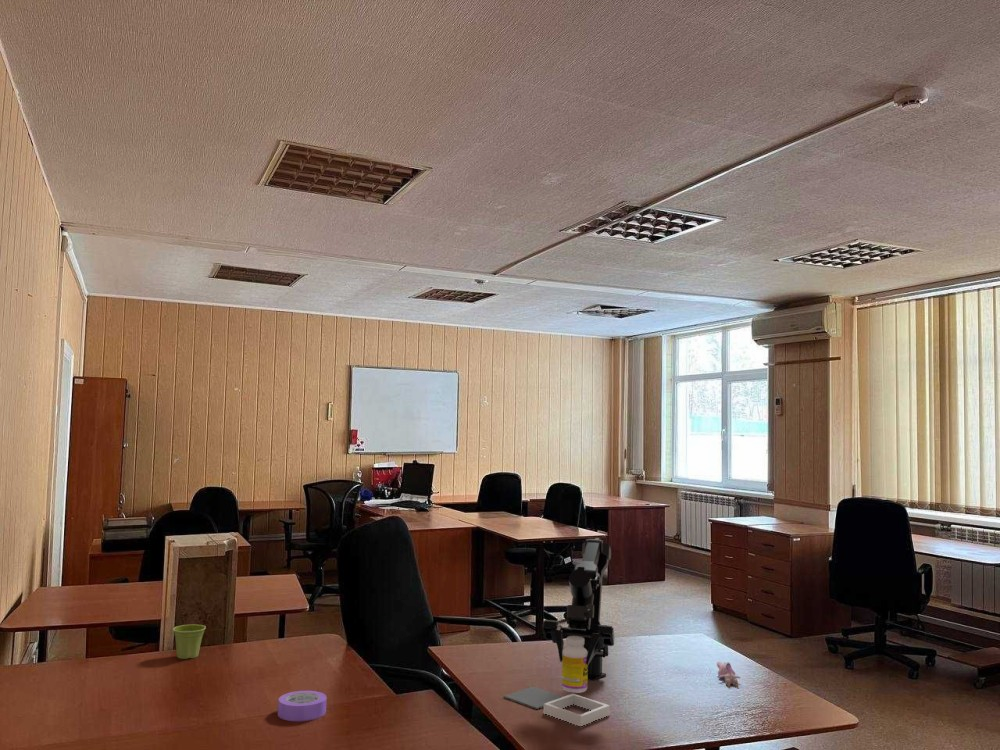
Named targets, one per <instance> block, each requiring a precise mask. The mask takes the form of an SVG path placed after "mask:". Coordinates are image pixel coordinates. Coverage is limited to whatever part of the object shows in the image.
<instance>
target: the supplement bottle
mask: <svg viewBox="0 0 1000 750" xmlns="http://www.w3.org/2000/svg"><path fill="white" fill-rule="evenodd" d="M565 640H566V641H565V643H566V646H565V647H563V651H562V662H561V689H562V690H564V691H565V692H568V693H571V694H581V693H585V692H586V691H587V689H588V680H589V678H588V665H587V655H588V651H587V650H586V649H585V648H584V647H583V645H584V638H583V637H579V636H572V635H568V636H567V637H566V639H565Z"/></svg>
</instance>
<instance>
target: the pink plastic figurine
mask: <svg viewBox="0 0 1000 750" xmlns="http://www.w3.org/2000/svg"><path fill="white" fill-rule="evenodd" d="M716 667H717V669H718V672H717V674H718V675H719V676H718V678H724V682H725V684H726V685H727V687H731V685H733V686H735V687H737V688H739V687H740V685H739V682H738V679H741V676H739V675H736V672H735V670H734V669H733V668H732V664H731V663H730V662H729V661H727V662H723V663H722V662H720V661H716Z"/></svg>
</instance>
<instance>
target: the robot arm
mask: <svg viewBox="0 0 1000 750" xmlns="http://www.w3.org/2000/svg"><path fill="white" fill-rule="evenodd" d="M581 552H582V553H581V555H582V559H581V562H580V563H577V564H576V565H575V566H574V570H573V571H571V573H570V574H569V575H568V583H569V589H570V593H571V596H572V599H571V604H568V605H567V609H566V624H567V626H562V625H560V624H559V620H552V619H545V620H544V621H543V622H542V625H541V630H542V636H543V639H545V640H547V641H552V643H553V644H556V646H557V651H558V658H559V662H560V663H562V651H563V649H564V644H565V642H564V636H579V637H583V638H584V645H583V647H584V648H585V649H586V650H587V651H588V655H587V665H588V680H589V679H590V680H598V679H599V678H602V677H603V678H604V677H606V676H607V673H606V672H603V658H606V657H609V647H614V646H615V630H614V627H613V626H612V625H607V624H601V622H600V621H601V609H602V608H601V606H602V605H601V604H602V588H603V587H602V586H603V575H604V573H605V571H606V570H607V568H608V567H609V561H610V560H611V558H612V548H611V546H610V544H607V543H605V542H604V541H603V540H601V539H598V538H597V539H596V538H588V539H585V541H584V542H583V543H582V551H581Z"/></svg>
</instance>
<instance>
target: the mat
mask: <svg viewBox="0 0 1000 750" xmlns="http://www.w3.org/2000/svg"><path fill="white" fill-rule="evenodd" d="M564 696H565V695H560V694H557V693H555V692H550V691H548V690H545V689H542V688H540V687H536V686H530V687H528V688H523V689H520V690H517V691H514V692H511V693H509V694H505V695H503V698H504V699H506V700H508V699H510V700H509V701H511V700H512V702H514V701H515V702H514V703H517V702H518V704H520V705H522V704H523V706H525V705H527V706H526V707H528V706H529V707H528V708H531V707H532V708H531V709H533V708H535V709H534V710H536V709H538V710H540V709H539V708H541V709H543V708H544V704H545V703H547V702H550V701H553V700H556V699H559V698H561V697H564ZM542 707H543V708H542Z"/></svg>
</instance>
